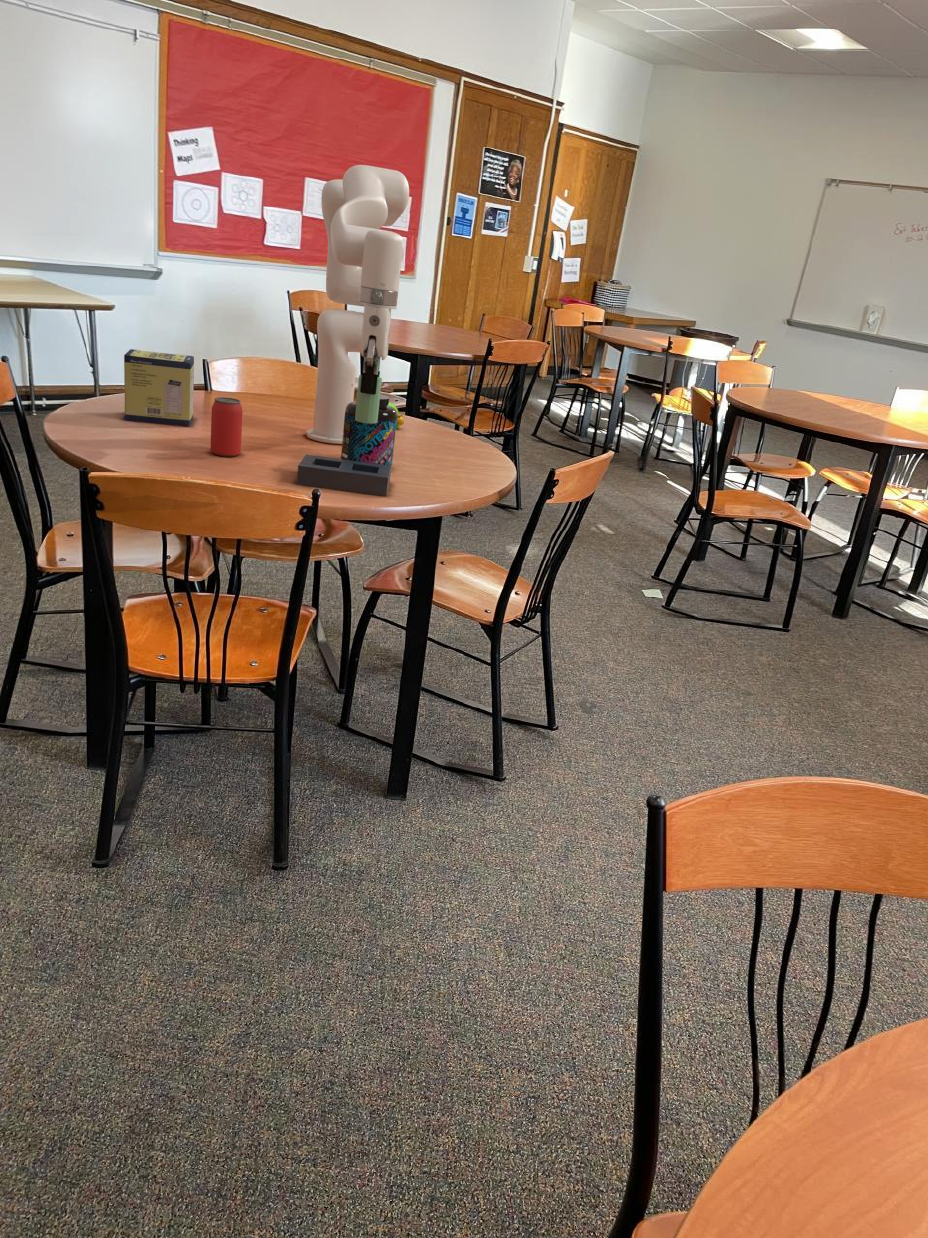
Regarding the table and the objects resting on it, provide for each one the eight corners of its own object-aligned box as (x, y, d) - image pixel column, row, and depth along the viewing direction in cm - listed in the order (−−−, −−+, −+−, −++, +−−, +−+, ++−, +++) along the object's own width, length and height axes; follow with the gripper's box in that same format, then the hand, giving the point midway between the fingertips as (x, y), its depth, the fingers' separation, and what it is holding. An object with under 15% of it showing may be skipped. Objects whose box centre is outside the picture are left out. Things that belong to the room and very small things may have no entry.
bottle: (356, 417, 189) (361, 361, 184) (378, 420, 189) (383, 364, 185) (353, 421, 185) (359, 364, 180) (376, 424, 185) (382, 367, 180)
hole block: (304, 472, 196) (305, 454, 195) (389, 483, 198) (391, 465, 196) (296, 484, 186) (298, 465, 185) (386, 496, 188) (388, 477, 186)
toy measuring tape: (395, 431, 250) (398, 407, 247) (340, 416, 258) (342, 393, 256) (408, 429, 255) (411, 406, 252) (354, 414, 263) (356, 392, 261)
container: (387, 475, 204) (391, 401, 197) (334, 468, 205) (336, 394, 199) (399, 464, 214) (403, 393, 208) (348, 458, 216) (351, 388, 210)
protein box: (129, 411, 226) (129, 348, 220) (193, 418, 229) (195, 355, 223) (123, 420, 216) (122, 354, 210) (190, 426, 220) (192, 362, 214)
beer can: (210, 456, 197) (212, 401, 193) (210, 448, 203) (211, 395, 198) (241, 458, 199) (243, 404, 195) (239, 451, 205) (242, 398, 200)
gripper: (394, 303, 170) (384, 400, 177) (399, 298, 186) (390, 388, 193) (355, 298, 170) (346, 395, 176) (363, 293, 185) (355, 383, 192)
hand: (369, 390), depth 184 cm, fingers closed on bottle, 4 cm apart
